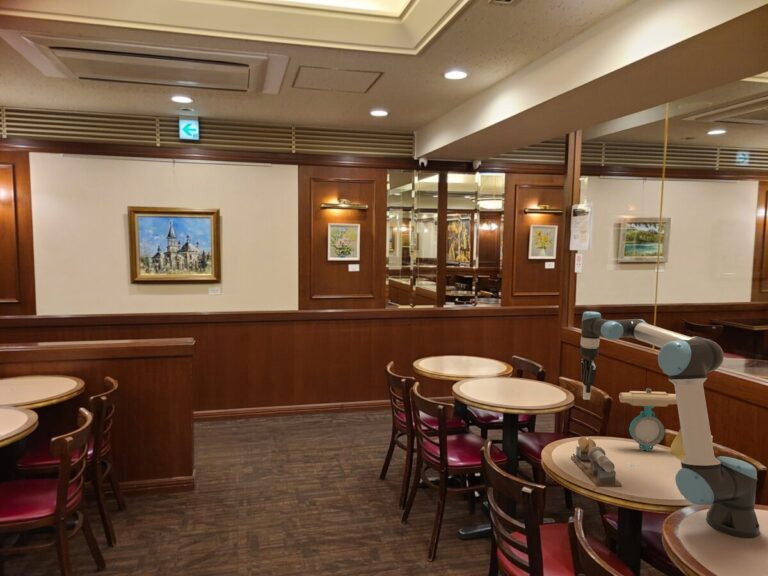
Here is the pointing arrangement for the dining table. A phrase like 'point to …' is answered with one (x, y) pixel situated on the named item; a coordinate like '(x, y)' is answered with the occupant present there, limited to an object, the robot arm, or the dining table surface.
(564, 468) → the dining table surface
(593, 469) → the pipe jig
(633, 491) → the dining table surface
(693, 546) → the dining table surface
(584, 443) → the coupling
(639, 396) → the butterfly valve
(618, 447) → the dining table surface
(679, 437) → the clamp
